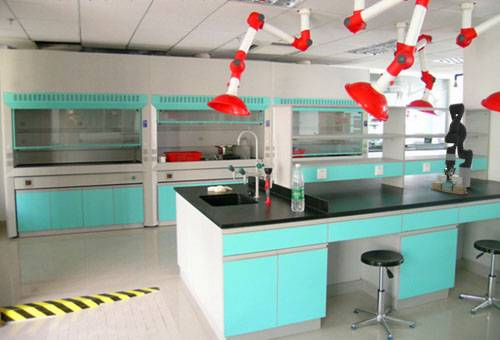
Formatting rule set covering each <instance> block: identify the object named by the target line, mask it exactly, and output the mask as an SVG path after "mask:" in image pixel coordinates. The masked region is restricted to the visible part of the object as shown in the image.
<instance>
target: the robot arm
mask: <svg viewBox="0 0 500 340" xmlns="http://www.w3.org/2000/svg"><path fill="white" fill-rule="evenodd" d="M448 111H449V115H450V118H451V122H450V124H449V127H448V131H447V133H446V135H445V137H444V142H445V143H446V144H450V145H451V144H453V145H451V146H450V145H449V146H446V151H445V152H446V153H445V162H444V165H445V168H443V173H444V175H446V176H447V178H445V179H446V180H448V181H449V180H450V181H453V179H449V178H450V176H454V175H455V173H456V169H457V168H456V167H455V166H456V162H457V161H456V159H457V156H458V159H460V160H464V161H463V162H460V163H459V165H458V176H457V177H462V184H457V185H462V186H466V188H470V187H471V168H472V163H473V158H474V157H473V156H474V153H473V150H472V149H470V148H464V142H465V141H466V138H467V135H468V133H467V128H466V126H465V125H464V124H463V122H462V119H463V116H464V112H465V111H466V110H465V105H464V103H462V102H459V103H458V102H457V103H452V104H450V105H449V106H448ZM456 154H457V156H456ZM446 180H445V181H446Z"/></svg>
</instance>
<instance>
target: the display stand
mask: <svg viewBox="0 0 500 340" xmlns="http://www.w3.org/2000/svg"><path fill="white" fill-rule="evenodd" d="M431 183H432V185H431V186H432V187H431V188H430V190H433V191H438V192H445V193H451V194H456V195H466V194H468V192H467V187H466V186H462V185H458V184H457V182H456V183H455V182H454V181H453V180H449V181H448V180H445V181H444V182H442V181H434V182H431Z"/></svg>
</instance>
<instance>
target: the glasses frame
mask: <svg viewBox="0 0 500 340" xmlns="http://www.w3.org/2000/svg"><path fill="white" fill-rule="evenodd" d="M446 178H447V176H446V175H445V174H437V175H436V182H442V179H446ZM449 179H452V180H456V181H457V182H456V185H458V184H462V177H458V176H454V175H453V176H450V178H449Z"/></svg>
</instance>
